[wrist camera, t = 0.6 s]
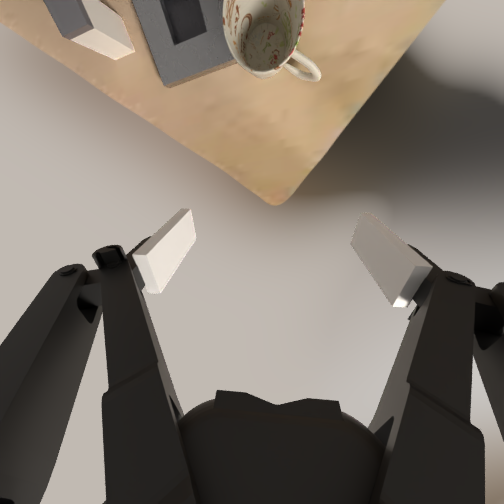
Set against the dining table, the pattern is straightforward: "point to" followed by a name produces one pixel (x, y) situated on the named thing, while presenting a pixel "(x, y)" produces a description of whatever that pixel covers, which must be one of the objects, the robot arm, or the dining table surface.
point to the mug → (267, 36)
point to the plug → (91, 26)
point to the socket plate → (185, 37)
